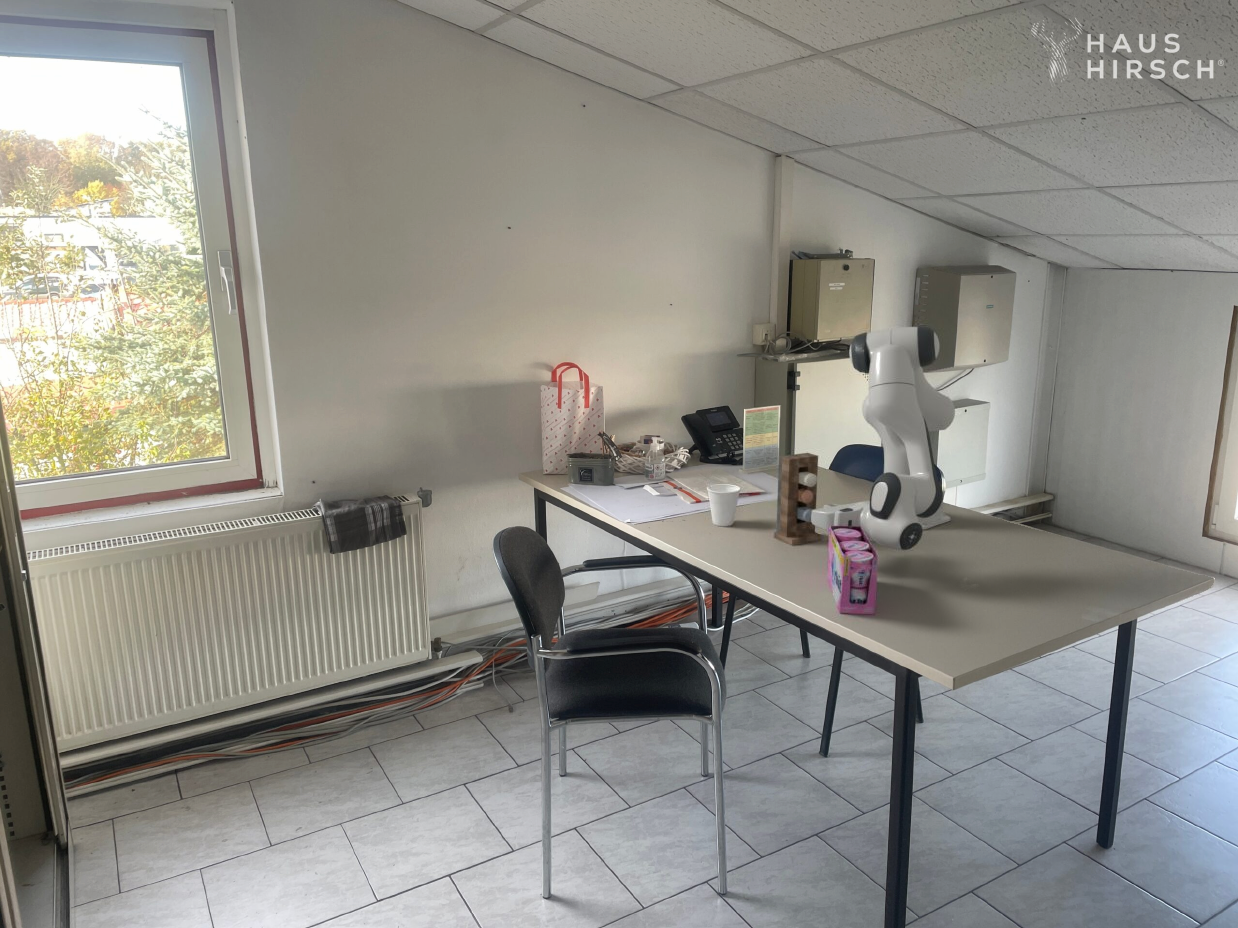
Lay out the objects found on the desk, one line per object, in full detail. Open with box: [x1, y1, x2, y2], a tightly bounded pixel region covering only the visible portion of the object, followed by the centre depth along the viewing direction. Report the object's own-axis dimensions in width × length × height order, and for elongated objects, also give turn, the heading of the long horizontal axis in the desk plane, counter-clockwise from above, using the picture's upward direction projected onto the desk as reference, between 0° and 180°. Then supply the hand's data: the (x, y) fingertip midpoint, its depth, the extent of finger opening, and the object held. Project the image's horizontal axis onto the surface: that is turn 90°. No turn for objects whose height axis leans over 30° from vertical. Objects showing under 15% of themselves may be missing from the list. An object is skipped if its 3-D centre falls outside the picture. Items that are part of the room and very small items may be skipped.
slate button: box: [797, 507, 812, 522], centre depth 237 cm, size 4×4×4 cm
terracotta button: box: [797, 488, 813, 504], centre depth 237 cm, size 4×4×4 cm
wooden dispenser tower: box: [773, 452, 822, 546], centre depth 239 cm, size 10×8×24 cm
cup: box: [706, 483, 742, 528], centre depth 255 cm, size 10×10×11 cm
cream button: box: [798, 472, 818, 487], centre depth 235 cm, size 4×4×4 cm
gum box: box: [826, 526, 879, 615], centre depth 198 cm, size 24×8×14 cm, turn 174°
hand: (827, 507), depth 228 cm, fingers closed
